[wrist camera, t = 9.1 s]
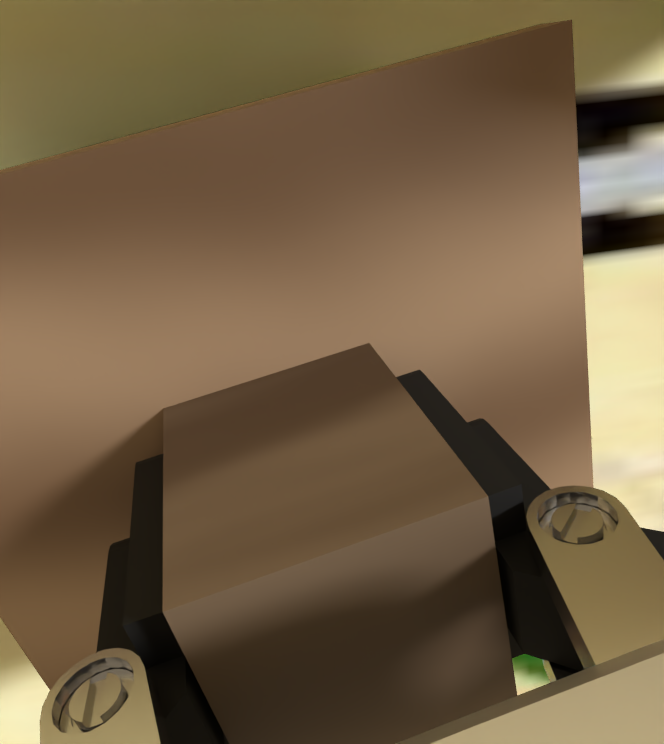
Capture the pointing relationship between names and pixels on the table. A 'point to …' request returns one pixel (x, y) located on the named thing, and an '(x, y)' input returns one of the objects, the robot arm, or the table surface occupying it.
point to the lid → (299, 381)
